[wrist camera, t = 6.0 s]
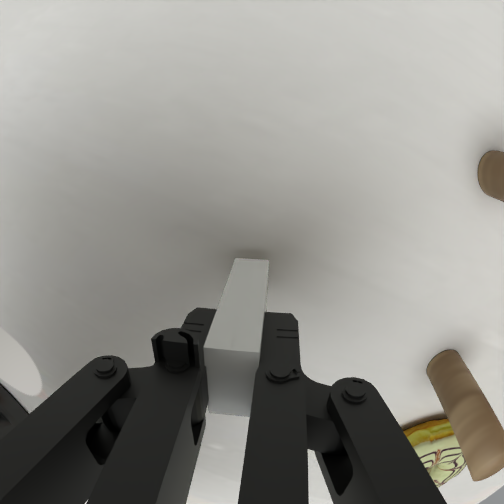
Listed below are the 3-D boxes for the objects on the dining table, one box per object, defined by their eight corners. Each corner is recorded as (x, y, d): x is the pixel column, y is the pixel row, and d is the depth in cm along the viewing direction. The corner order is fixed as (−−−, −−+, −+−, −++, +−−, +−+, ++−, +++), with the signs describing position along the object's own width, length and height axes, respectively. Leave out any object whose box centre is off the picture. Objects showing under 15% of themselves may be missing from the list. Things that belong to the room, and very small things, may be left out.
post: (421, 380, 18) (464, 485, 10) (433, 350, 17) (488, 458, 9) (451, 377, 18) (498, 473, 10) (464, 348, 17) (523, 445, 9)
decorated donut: (356, 485, 24) (359, 515, 21) (364, 427, 21) (371, 465, 17) (450, 462, 23) (459, 489, 19) (480, 397, 19) (497, 428, 16)
